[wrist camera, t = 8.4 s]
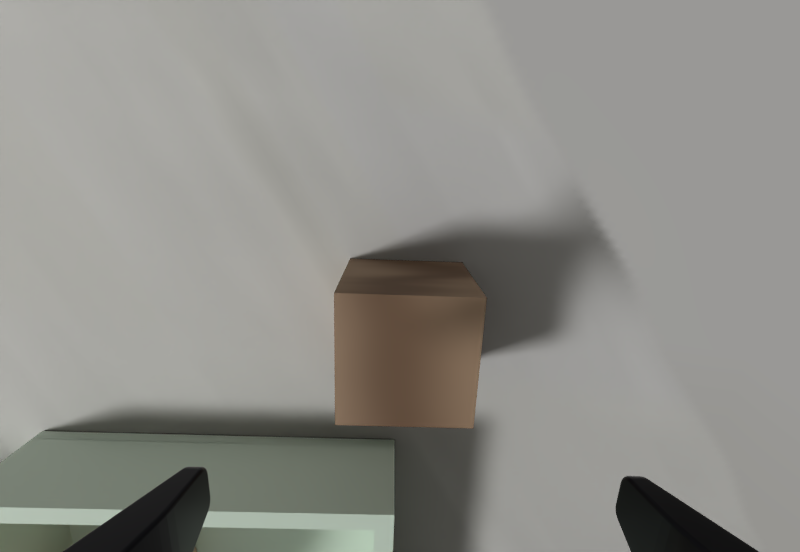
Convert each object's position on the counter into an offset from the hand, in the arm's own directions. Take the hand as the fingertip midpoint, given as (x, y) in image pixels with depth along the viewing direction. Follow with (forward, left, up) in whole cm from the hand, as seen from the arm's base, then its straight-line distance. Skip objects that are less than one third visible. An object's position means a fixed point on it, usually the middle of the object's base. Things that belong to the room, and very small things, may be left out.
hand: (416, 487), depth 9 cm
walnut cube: (0, 0, -10) cm, 10 cm away
